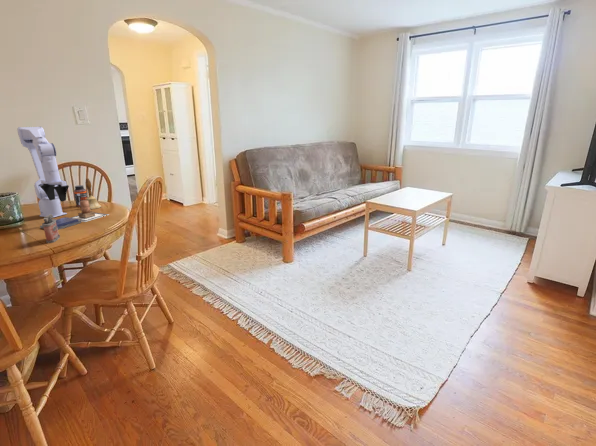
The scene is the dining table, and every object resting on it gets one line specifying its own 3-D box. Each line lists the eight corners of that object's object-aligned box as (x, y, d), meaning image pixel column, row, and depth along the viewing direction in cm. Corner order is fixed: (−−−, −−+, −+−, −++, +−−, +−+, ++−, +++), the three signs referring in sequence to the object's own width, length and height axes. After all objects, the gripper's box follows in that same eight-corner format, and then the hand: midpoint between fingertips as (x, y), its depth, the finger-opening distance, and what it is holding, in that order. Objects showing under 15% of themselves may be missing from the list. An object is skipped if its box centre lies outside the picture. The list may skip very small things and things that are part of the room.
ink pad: (40, 228, 150) (39, 223, 149) (66, 220, 160) (65, 216, 160) (55, 230, 146) (54, 226, 146) (81, 222, 157) (80, 218, 156)
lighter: (54, 242, 132) (48, 218, 129) (44, 243, 131) (38, 219, 128) (61, 236, 139) (56, 212, 136) (52, 236, 138) (46, 213, 135)
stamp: (78, 217, 164) (75, 201, 162) (88, 215, 169) (85, 199, 166) (85, 218, 162) (82, 202, 160) (95, 216, 167) (92, 200, 164)
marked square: (66, 219, 163) (66, 218, 163) (91, 212, 174) (90, 211, 174) (85, 222, 158) (84, 221, 158) (109, 214, 169) (109, 214, 169)
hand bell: (91, 205, 188) (85, 177, 184) (104, 205, 187) (99, 177, 182) (80, 209, 181) (73, 179, 176) (93, 209, 179) (88, 180, 174)
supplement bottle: (83, 207, 185) (79, 187, 181) (74, 206, 186) (69, 186, 182) (91, 204, 190) (87, 184, 187) (82, 204, 191) (78, 184, 188)
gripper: (31, 171, 151) (38, 201, 155) (52, 173, 145) (59, 203, 149) (47, 169, 157) (54, 197, 161) (68, 170, 152) (74, 200, 156)
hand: (57, 200), depth 156 cm, fingers open, 7 cm apart
